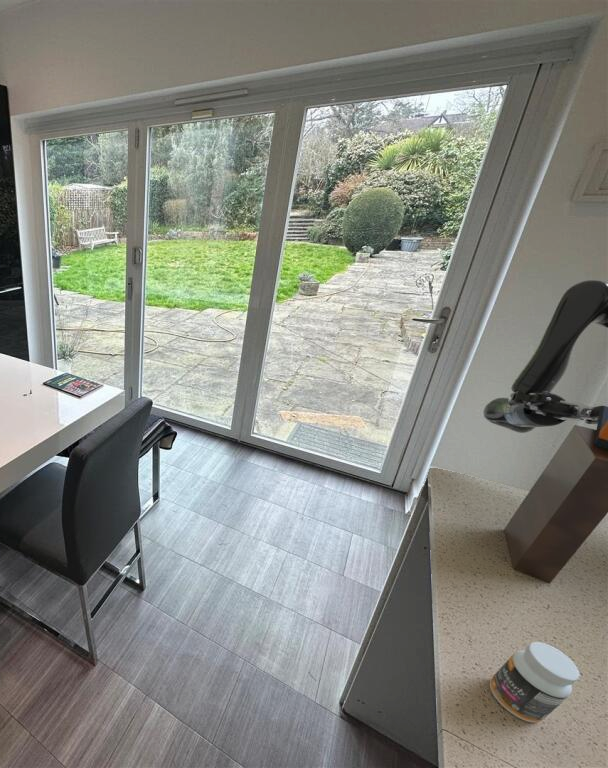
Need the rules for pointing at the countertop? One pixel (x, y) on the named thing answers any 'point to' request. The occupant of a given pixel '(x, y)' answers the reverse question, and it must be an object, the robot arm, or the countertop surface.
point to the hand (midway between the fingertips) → (573, 404)
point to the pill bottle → (534, 681)
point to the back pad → (599, 426)
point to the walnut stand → (560, 507)
